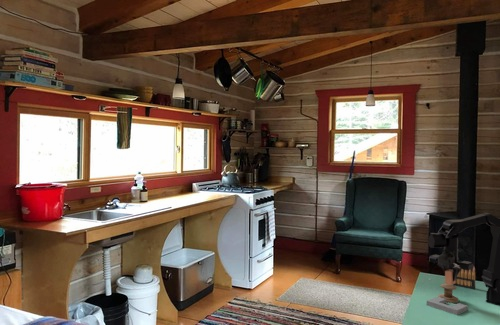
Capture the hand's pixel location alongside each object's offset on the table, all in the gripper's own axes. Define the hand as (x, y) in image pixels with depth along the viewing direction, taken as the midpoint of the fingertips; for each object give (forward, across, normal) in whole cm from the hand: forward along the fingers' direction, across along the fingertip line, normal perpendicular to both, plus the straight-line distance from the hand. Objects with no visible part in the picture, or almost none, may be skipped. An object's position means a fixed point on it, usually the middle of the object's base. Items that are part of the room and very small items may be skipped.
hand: (450, 280), depth 194 cm
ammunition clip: (+12, -8, +31) cm, 34 cm away
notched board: (+11, +2, -7) cm, 13 cm away
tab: (+2, 0, 0) cm, 2 cm away
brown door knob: (+11, -3, +4) cm, 12 cm away
